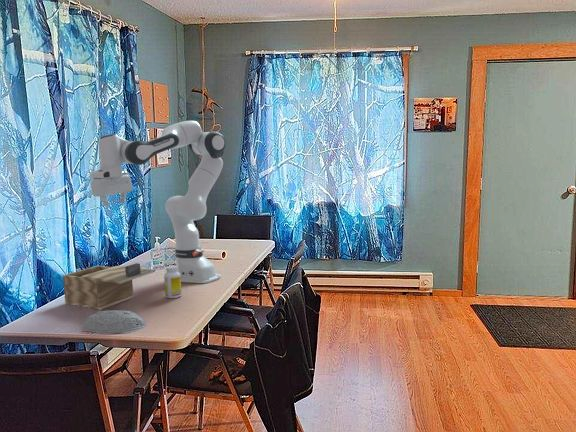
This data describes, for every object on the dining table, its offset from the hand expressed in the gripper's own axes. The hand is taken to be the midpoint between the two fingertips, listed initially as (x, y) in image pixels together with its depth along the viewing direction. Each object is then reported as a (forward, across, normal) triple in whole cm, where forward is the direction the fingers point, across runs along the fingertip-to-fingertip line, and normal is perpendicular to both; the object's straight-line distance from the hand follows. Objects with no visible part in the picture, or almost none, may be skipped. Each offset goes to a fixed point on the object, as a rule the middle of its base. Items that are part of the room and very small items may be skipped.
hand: (114, 204), depth 230 cm
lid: (+26, +14, +14) cm, 33 cm away
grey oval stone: (+39, +35, +31) cm, 61 cm away
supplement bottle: (+39, -2, +28) cm, 48 cm away
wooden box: (+38, +14, +2) cm, 41 cm away
